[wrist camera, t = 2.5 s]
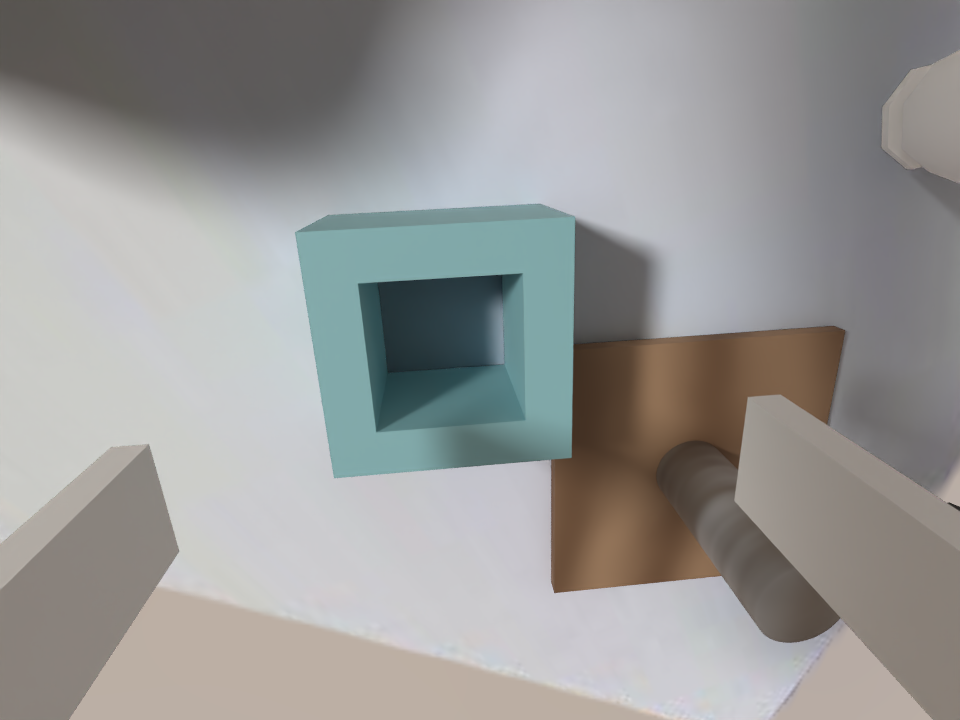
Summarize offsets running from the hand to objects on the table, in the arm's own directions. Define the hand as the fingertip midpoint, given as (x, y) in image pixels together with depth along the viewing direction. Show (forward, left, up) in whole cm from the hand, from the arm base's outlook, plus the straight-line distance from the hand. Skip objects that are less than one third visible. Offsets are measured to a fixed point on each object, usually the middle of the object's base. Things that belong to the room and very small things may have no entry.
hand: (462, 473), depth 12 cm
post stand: (+12, -9, -13) cm, 20 cm away
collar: (0, 0, -13) cm, 13 cm away
